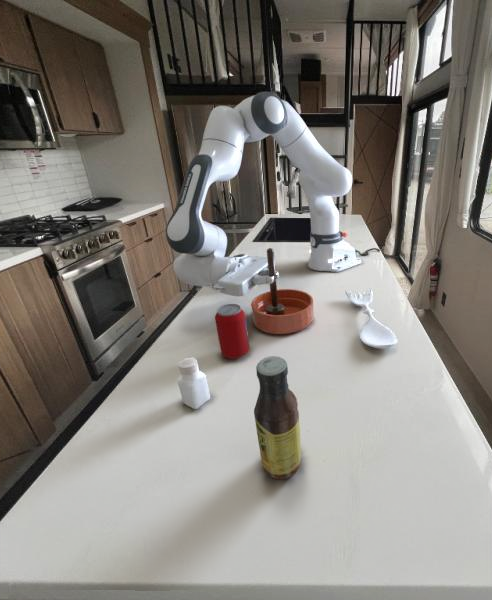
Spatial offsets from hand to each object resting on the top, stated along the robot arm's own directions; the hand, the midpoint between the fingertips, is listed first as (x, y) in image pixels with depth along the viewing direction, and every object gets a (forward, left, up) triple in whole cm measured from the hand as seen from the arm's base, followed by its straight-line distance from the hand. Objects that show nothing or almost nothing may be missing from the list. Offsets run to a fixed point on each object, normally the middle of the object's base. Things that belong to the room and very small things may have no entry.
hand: (275, 277), depth 86 cm
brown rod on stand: (+1, -1, -11) cm, 11 cm away
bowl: (-2, -1, -14) cm, 14 cm away
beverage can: (+15, +7, -14) cm, 22 cm away
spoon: (-21, +14, -14) cm, 29 cm away
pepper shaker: (+27, +19, -14) cm, 36 cm away
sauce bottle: (+19, +41, -14) cm, 48 cm away
